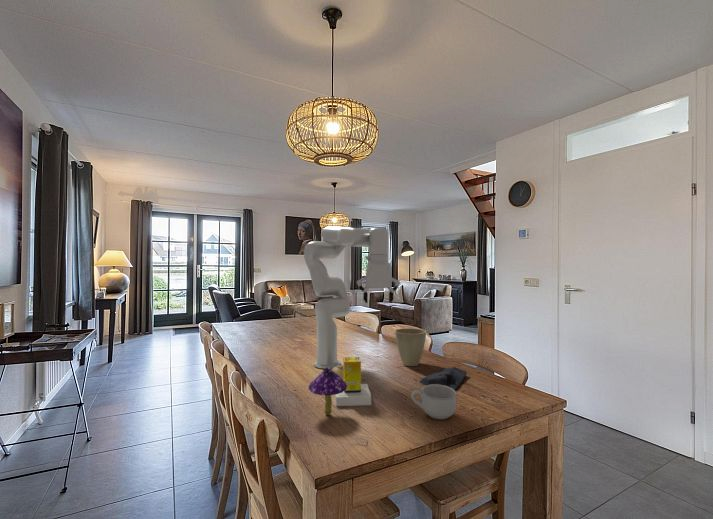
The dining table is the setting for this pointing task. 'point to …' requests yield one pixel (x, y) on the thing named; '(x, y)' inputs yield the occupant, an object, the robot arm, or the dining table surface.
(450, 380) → the dark slate chunk
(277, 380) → the dining table surface
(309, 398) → the dining table surface
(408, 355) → the plant pot
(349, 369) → the supplement box
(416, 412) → the dining table surface
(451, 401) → the teacup
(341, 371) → the onion
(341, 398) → the blank white picture frame
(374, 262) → the robot arm
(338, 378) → the decorative mushroom
